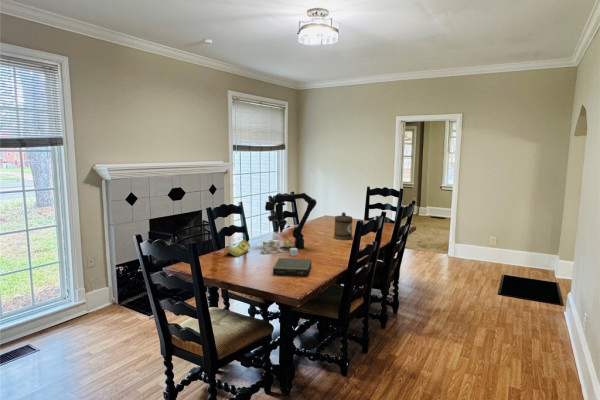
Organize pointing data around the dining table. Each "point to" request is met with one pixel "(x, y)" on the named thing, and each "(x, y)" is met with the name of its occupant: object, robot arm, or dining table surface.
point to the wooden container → (343, 227)
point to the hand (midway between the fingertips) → (279, 231)
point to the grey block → (293, 251)
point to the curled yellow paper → (239, 249)
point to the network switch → (292, 267)
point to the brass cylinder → (287, 244)
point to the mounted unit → (273, 247)
